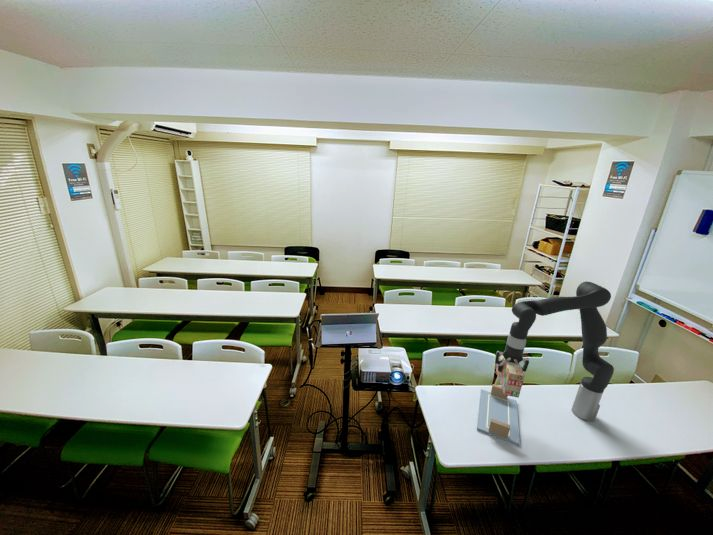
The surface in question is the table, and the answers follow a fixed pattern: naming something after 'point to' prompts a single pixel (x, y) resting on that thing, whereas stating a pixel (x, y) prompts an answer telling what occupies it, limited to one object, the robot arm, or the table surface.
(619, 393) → the table surface
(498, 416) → the board
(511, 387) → the stack of blocks
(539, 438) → the table surface
